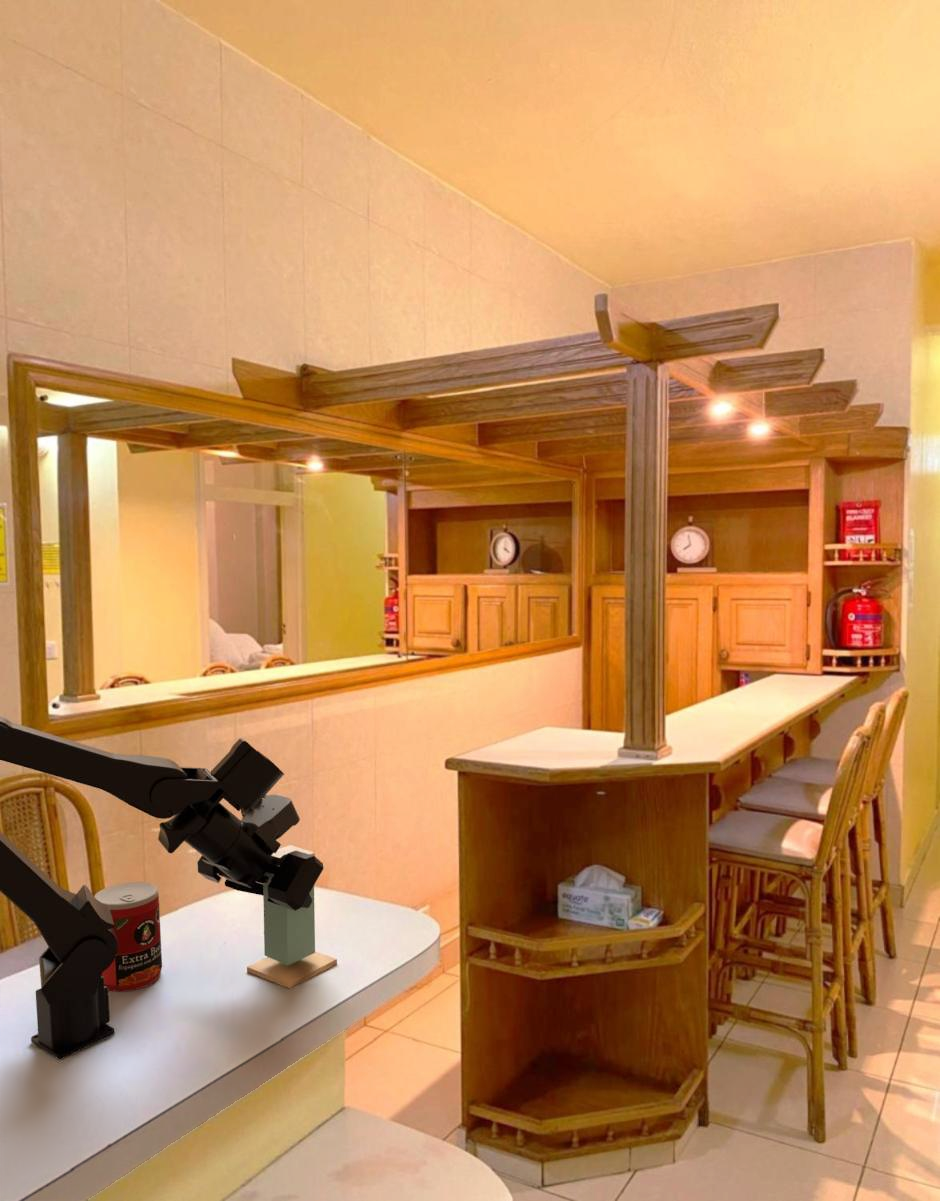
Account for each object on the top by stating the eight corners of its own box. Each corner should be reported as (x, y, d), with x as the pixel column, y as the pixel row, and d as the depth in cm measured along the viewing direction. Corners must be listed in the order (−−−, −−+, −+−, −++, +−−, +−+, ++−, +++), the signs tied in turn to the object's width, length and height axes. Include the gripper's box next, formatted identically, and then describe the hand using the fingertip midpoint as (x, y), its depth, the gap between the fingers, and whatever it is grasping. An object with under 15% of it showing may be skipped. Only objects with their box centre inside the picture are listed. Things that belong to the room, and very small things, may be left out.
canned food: (121, 999, 110) (116, 909, 110) (85, 981, 115) (80, 895, 114) (175, 974, 116) (171, 889, 116) (139, 958, 121) (135, 877, 121)
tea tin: (287, 966, 114) (285, 863, 113) (263, 955, 117) (261, 854, 116) (316, 952, 117) (314, 852, 117) (292, 942, 120) (290, 844, 119)
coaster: (289, 988, 112) (289, 983, 111) (247, 971, 116) (246, 966, 116) (337, 963, 118) (336, 959, 118) (295, 948, 123) (294, 944, 123)
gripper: (308, 790, 107) (379, 858, 116) (213, 769, 119) (284, 832, 128) (255, 876, 101) (334, 940, 110) (161, 845, 113) (239, 905, 122)
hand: (297, 899), depth 118 cm, fingers closed on tea tin, 5 cm apart
